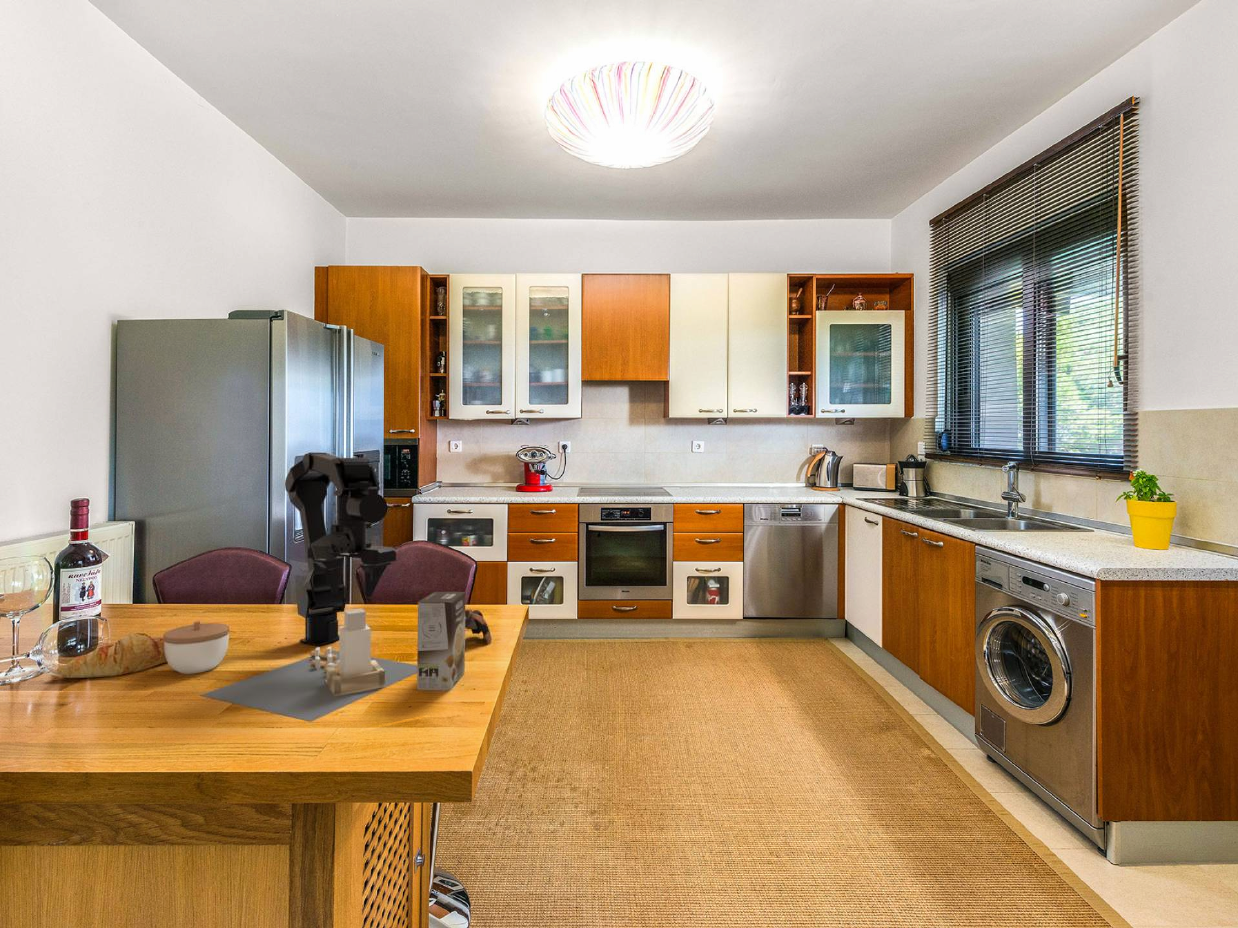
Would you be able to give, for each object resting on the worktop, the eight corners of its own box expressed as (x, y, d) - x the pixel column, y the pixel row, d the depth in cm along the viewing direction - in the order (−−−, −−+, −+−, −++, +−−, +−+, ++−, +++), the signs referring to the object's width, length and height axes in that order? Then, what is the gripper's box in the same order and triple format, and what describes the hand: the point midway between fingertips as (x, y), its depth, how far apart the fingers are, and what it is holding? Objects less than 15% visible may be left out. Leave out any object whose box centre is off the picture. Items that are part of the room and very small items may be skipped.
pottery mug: (490, 651, 141) (470, 620, 139) (453, 667, 142) (433, 637, 140) (501, 622, 152) (483, 594, 150) (466, 638, 154) (448, 610, 152)
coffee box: (451, 692, 115) (452, 602, 115) (416, 691, 115) (416, 601, 115) (465, 674, 124) (466, 591, 124) (432, 673, 125) (432, 590, 124)
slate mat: (199, 697, 112) (199, 695, 112) (330, 651, 137) (330, 649, 137) (310, 723, 101) (310, 721, 101) (429, 669, 127) (429, 666, 127)
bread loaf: (59, 704, 117) (61, 670, 114) (51, 667, 123) (53, 634, 120) (196, 673, 133) (200, 642, 130) (183, 641, 138) (187, 611, 136)
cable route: (305, 656, 133) (305, 646, 133) (332, 652, 136) (332, 642, 136) (319, 680, 119) (319, 669, 119) (348, 675, 122) (348, 664, 122)
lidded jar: (208, 658, 133) (207, 612, 132) (241, 666, 128) (241, 618, 128) (150, 673, 123) (150, 624, 123) (184, 683, 118) (184, 632, 118)
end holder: (325, 681, 119) (325, 666, 119) (373, 673, 123) (373, 658, 123) (334, 696, 112) (334, 680, 112) (385, 686, 116) (385, 671, 116)
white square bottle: (339, 681, 118) (339, 610, 118) (364, 676, 121) (364, 607, 120) (344, 688, 114) (344, 615, 114) (370, 683, 117) (370, 612, 117)
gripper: (284, 520, 129) (284, 598, 130) (356, 525, 122) (356, 607, 122) (329, 515, 140) (329, 587, 140) (398, 519, 132) (397, 596, 133)
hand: (351, 594), depth 133 cm, fingers open, 9 cm apart
